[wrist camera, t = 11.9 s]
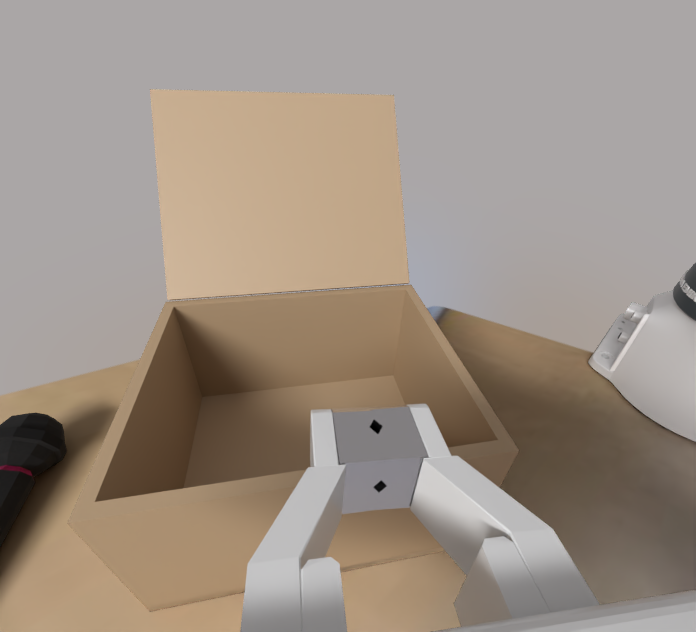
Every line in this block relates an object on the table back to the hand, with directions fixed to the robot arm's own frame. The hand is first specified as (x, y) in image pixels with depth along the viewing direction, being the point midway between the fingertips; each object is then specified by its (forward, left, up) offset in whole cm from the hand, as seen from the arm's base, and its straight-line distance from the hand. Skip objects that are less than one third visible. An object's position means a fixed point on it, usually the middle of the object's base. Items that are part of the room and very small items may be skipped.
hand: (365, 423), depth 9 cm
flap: (-18, -20, -2) cm, 27 cm away
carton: (-8, -10, -21) cm, 25 cm away
